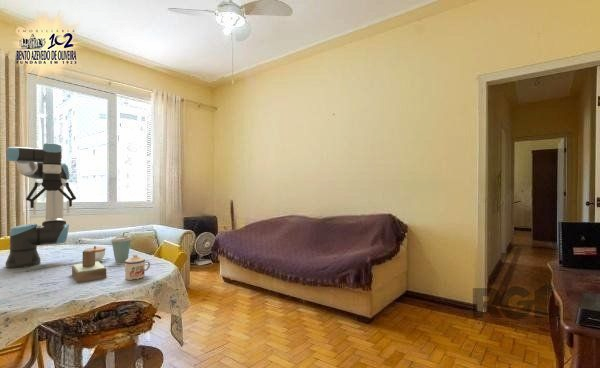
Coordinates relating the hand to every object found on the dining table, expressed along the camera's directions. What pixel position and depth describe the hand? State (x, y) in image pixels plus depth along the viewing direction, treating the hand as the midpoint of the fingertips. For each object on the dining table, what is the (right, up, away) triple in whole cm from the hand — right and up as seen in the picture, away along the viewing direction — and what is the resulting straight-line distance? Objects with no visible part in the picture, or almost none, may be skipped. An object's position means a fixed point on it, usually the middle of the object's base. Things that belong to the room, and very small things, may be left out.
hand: (51, 213), depth 159 cm
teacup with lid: (+47, -32, -4) cm, 57 cm away
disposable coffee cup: (+20, -32, +28) cm, 47 cm away
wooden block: (+21, -27, -2) cm, 34 cm away
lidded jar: (+4, -32, +27) cm, 42 cm away
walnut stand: (+21, -32, -2) cm, 38 cm away
